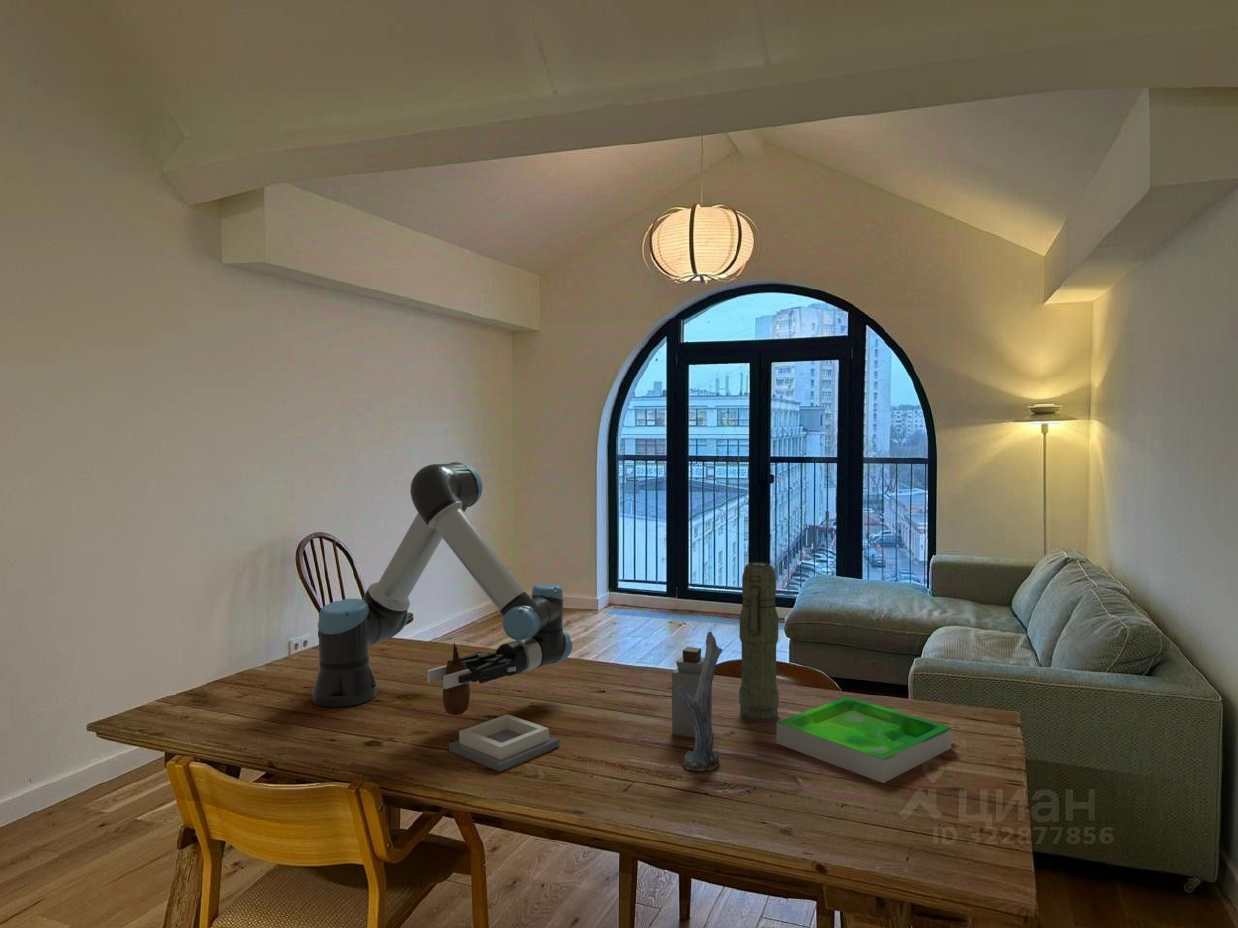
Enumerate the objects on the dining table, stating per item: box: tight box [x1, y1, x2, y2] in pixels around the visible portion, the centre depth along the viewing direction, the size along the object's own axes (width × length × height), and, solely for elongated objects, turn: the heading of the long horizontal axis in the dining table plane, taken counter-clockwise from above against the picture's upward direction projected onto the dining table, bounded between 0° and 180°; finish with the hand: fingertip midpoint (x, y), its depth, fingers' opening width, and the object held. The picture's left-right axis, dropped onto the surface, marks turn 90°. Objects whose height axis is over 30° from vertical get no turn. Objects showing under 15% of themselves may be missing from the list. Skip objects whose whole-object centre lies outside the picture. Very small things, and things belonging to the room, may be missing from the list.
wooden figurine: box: [442, 642, 471, 716], centre depth 175 cm, size 7×6×15 cm
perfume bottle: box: [671, 646, 713, 739], centre depth 174 cm, size 7×7×18 cm
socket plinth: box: [448, 713, 560, 773], centre depth 165 cm, size 16×16×4 cm
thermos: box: [738, 561, 780, 722], centre depth 183 cm, size 9×12×35 cm
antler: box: [675, 631, 723, 772], centre depth 157 cm, size 12×8×25 cm
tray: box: [776, 695, 952, 784], centre depth 165 cm, size 25×25×5 cm
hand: (436, 679), depth 171 cm, fingers closed on wooden figurine, 5 cm apart
